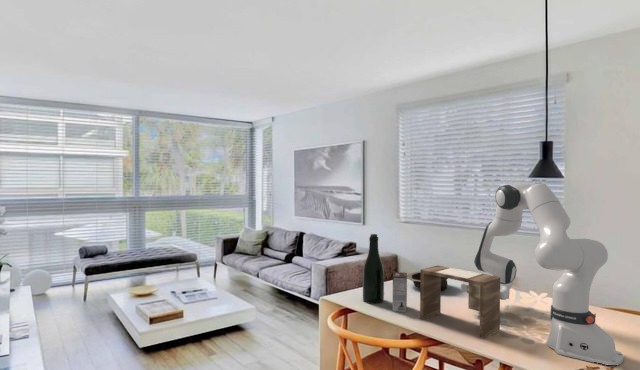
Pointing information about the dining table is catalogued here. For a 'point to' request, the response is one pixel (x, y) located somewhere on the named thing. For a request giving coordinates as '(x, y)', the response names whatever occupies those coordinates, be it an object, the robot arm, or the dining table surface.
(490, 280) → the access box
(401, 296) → the coffee box
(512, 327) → the dining table surface
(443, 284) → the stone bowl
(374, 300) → the green wine bottle
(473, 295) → the maple block
